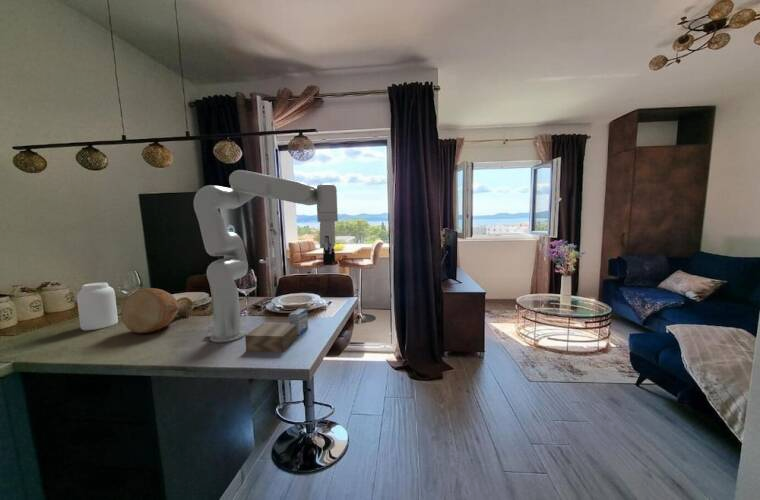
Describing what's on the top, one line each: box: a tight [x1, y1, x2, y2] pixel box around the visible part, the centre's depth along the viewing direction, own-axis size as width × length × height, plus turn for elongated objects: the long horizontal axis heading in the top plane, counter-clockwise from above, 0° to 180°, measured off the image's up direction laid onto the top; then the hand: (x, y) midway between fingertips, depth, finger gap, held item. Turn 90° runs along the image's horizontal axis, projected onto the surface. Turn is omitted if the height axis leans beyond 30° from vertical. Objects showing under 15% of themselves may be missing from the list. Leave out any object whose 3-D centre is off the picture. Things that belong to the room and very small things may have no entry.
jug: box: [121, 287, 194, 334], centre depth 130 cm, size 20×19×30 cm
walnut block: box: [244, 323, 298, 353], centre depth 107 cm, size 14×12×6 cm
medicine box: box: [288, 308, 309, 336], centre depth 119 cm, size 8×4×9 cm, turn 168°
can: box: [76, 281, 119, 331], centre depth 132 cm, size 12×12×20 cm
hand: (329, 262), depth 109 cm, fingers open, 9 cm apart
